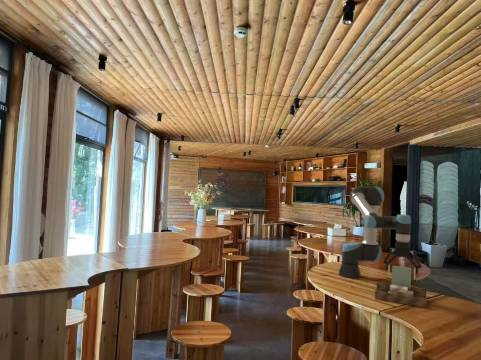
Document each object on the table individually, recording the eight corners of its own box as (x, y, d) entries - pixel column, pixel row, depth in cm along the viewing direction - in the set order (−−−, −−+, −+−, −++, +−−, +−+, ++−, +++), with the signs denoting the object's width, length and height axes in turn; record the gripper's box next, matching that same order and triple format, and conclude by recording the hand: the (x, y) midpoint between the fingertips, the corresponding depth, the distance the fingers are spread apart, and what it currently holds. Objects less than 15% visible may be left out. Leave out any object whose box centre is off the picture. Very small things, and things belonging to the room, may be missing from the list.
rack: (374, 298, 195) (375, 287, 195) (377, 291, 208) (377, 281, 208) (426, 308, 183) (427, 295, 183) (425, 300, 197) (425, 288, 197)
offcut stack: (387, 297, 194) (388, 286, 194) (388, 294, 199) (388, 284, 200) (413, 301, 188) (413, 290, 188) (413, 298, 194) (413, 288, 194)
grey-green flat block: (391, 293, 201) (392, 266, 201) (391, 292, 203) (392, 265, 204) (410, 296, 197) (411, 268, 197) (410, 295, 199) (411, 268, 199)
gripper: (379, 239, 203) (378, 275, 202) (427, 244, 192) (425, 282, 191) (380, 238, 209) (379, 272, 209) (426, 242, 198) (425, 279, 198)
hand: (401, 277), depth 200 cm, fingers open, 13 cm apart
